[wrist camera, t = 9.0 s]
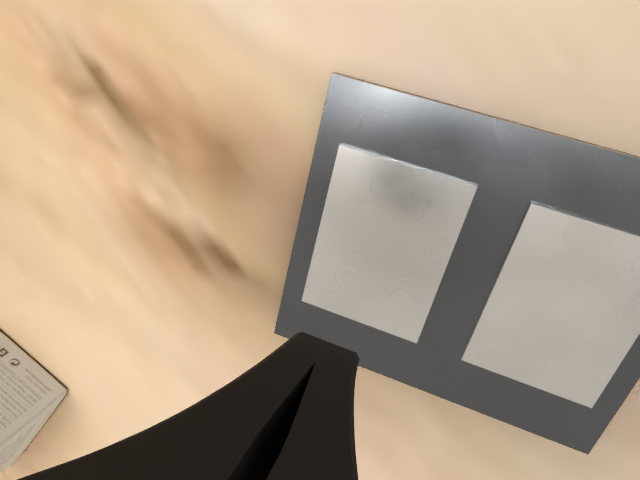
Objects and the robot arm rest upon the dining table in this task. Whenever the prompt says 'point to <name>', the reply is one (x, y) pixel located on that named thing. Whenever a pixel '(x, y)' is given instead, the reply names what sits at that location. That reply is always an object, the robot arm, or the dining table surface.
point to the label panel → (471, 259)
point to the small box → (23, 400)
